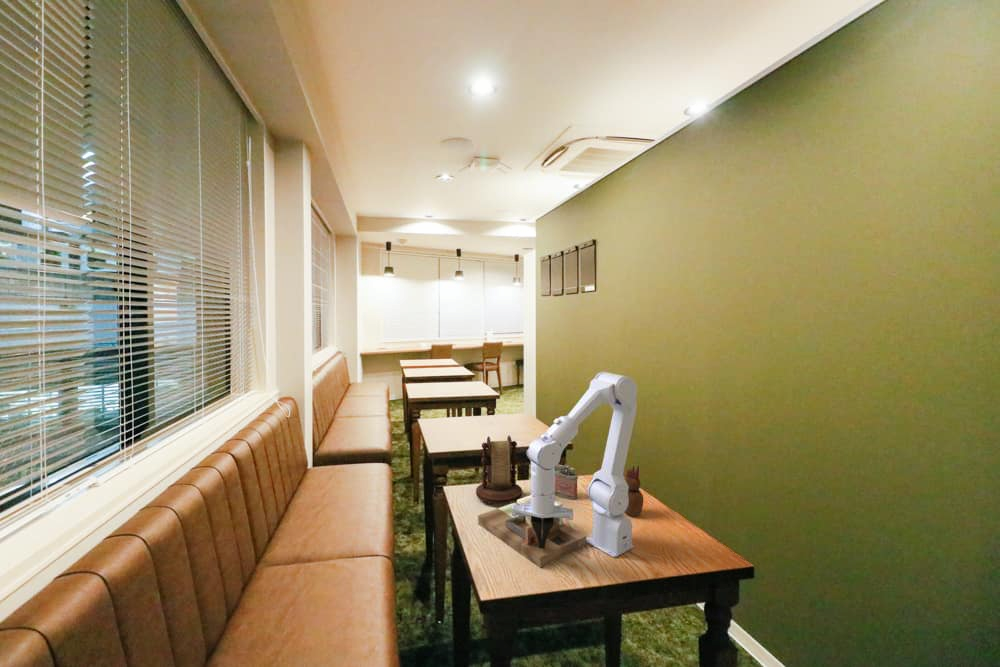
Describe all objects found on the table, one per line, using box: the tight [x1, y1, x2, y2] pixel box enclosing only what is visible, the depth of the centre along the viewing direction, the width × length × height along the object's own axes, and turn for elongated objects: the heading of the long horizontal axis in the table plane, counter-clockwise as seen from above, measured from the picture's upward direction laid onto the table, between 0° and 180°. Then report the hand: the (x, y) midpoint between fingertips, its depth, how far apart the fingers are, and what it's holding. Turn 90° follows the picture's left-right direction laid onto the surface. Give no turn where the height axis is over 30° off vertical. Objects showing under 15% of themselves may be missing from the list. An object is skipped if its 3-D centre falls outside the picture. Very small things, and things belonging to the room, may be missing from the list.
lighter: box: [555, 463, 579, 501], centre depth 137 cm, size 8×3×10 cm, turn 58°
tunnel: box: [477, 494, 587, 569], centre depth 114 cm, size 26×16×8 cm, turn 37°
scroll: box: [475, 435, 523, 506], centre depth 136 cm, size 15×15×20 cm
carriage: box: [505, 516, 543, 544], centre depth 111 cm, size 10×12×4 cm
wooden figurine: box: [623, 465, 644, 518], centre depth 126 cm, size 7×6×15 cm
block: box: [525, 516, 543, 525], centre depth 115 cm, size 4×4×4 cm
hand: (541, 546), depth 102 cm, fingers closed
